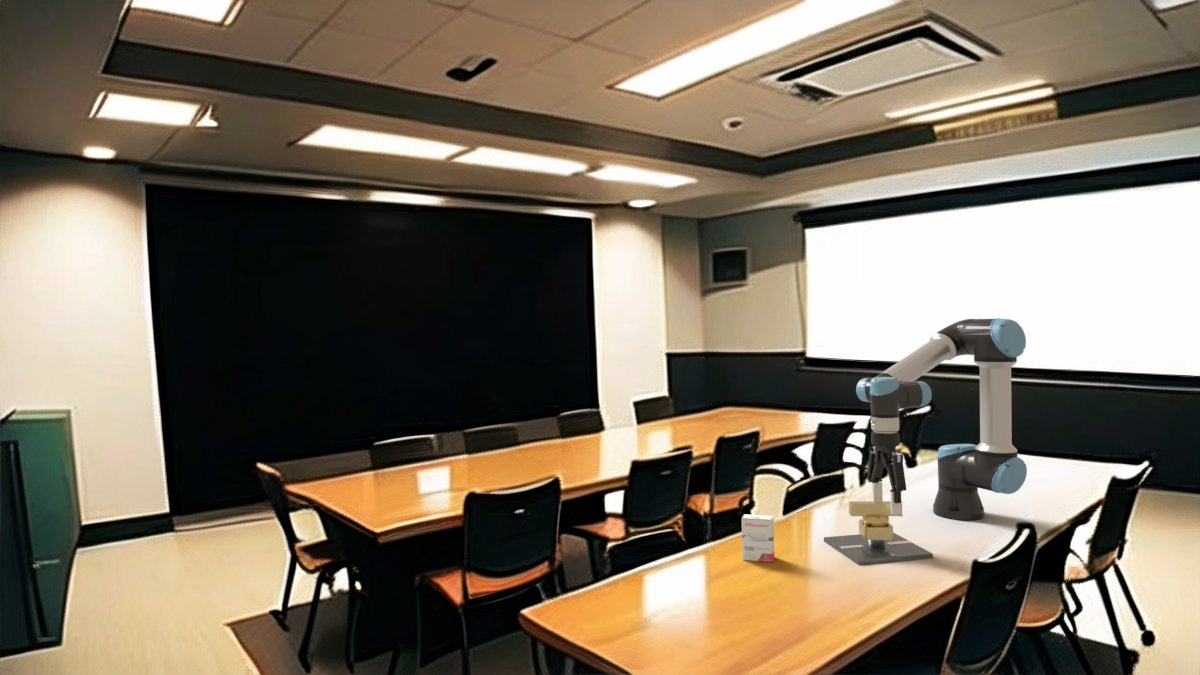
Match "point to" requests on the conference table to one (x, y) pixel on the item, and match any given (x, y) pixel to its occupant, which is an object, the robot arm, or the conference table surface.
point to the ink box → (757, 538)
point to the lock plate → (877, 549)
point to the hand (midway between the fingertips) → (886, 509)
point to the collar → (874, 519)
